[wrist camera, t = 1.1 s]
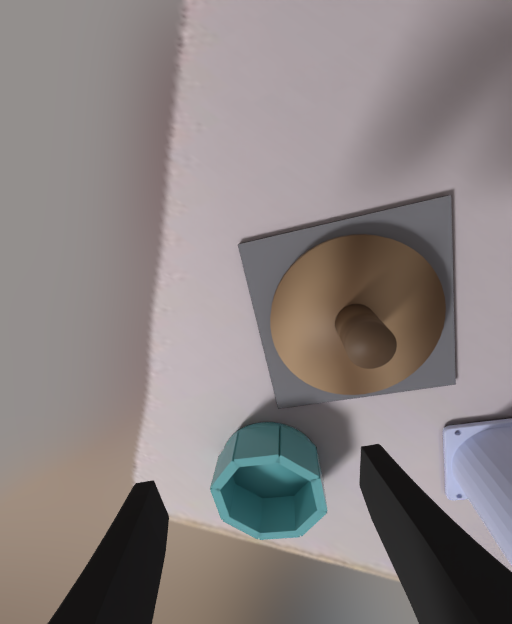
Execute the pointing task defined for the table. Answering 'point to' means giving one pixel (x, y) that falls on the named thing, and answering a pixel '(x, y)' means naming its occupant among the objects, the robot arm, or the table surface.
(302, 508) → the bowl
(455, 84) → the table surface
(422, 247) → the mat
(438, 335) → the lid
